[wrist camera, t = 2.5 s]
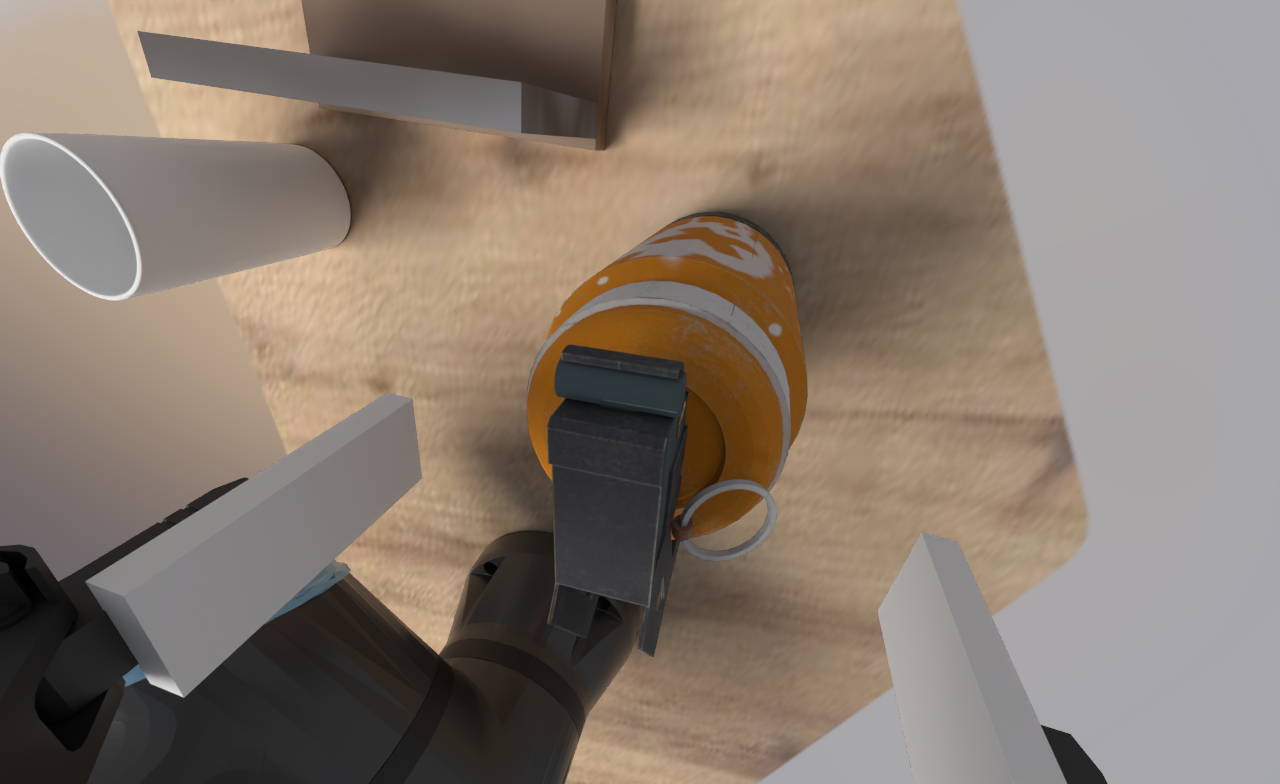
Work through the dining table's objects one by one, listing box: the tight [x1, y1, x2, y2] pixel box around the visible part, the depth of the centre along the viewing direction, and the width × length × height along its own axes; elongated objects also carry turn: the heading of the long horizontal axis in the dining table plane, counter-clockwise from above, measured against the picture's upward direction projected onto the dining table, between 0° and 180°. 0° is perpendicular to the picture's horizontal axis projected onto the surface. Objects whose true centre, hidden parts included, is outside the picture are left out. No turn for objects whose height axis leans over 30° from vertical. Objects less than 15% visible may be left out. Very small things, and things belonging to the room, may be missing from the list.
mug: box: [0, 133, 351, 300], centre depth 26 cm, size 10×7×12 cm, turn 88°
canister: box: [527, 212, 808, 657], centre depth 19 cm, size 9×11×20 cm
